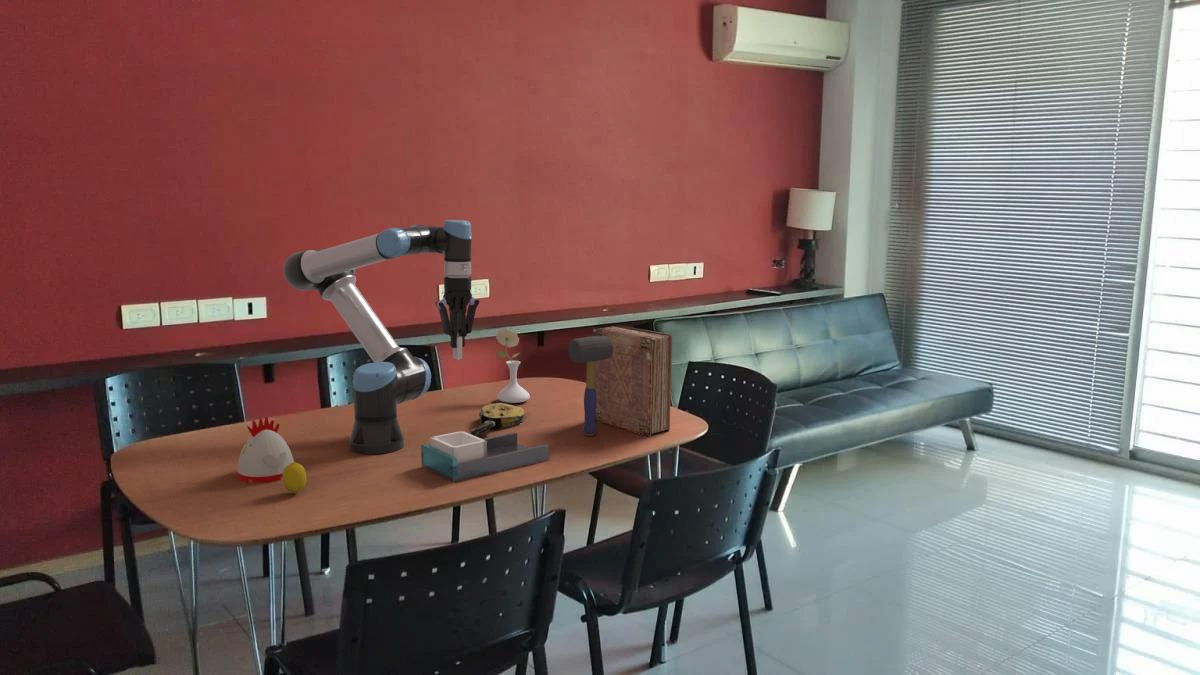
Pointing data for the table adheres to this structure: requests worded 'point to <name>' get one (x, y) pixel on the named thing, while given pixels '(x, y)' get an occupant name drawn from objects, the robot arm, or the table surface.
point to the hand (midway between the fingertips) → (457, 358)
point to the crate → (460, 446)
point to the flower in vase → (511, 370)
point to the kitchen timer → (263, 454)
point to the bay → (499, 458)
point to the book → (634, 380)
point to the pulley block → (498, 417)
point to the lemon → (294, 477)
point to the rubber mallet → (590, 371)
